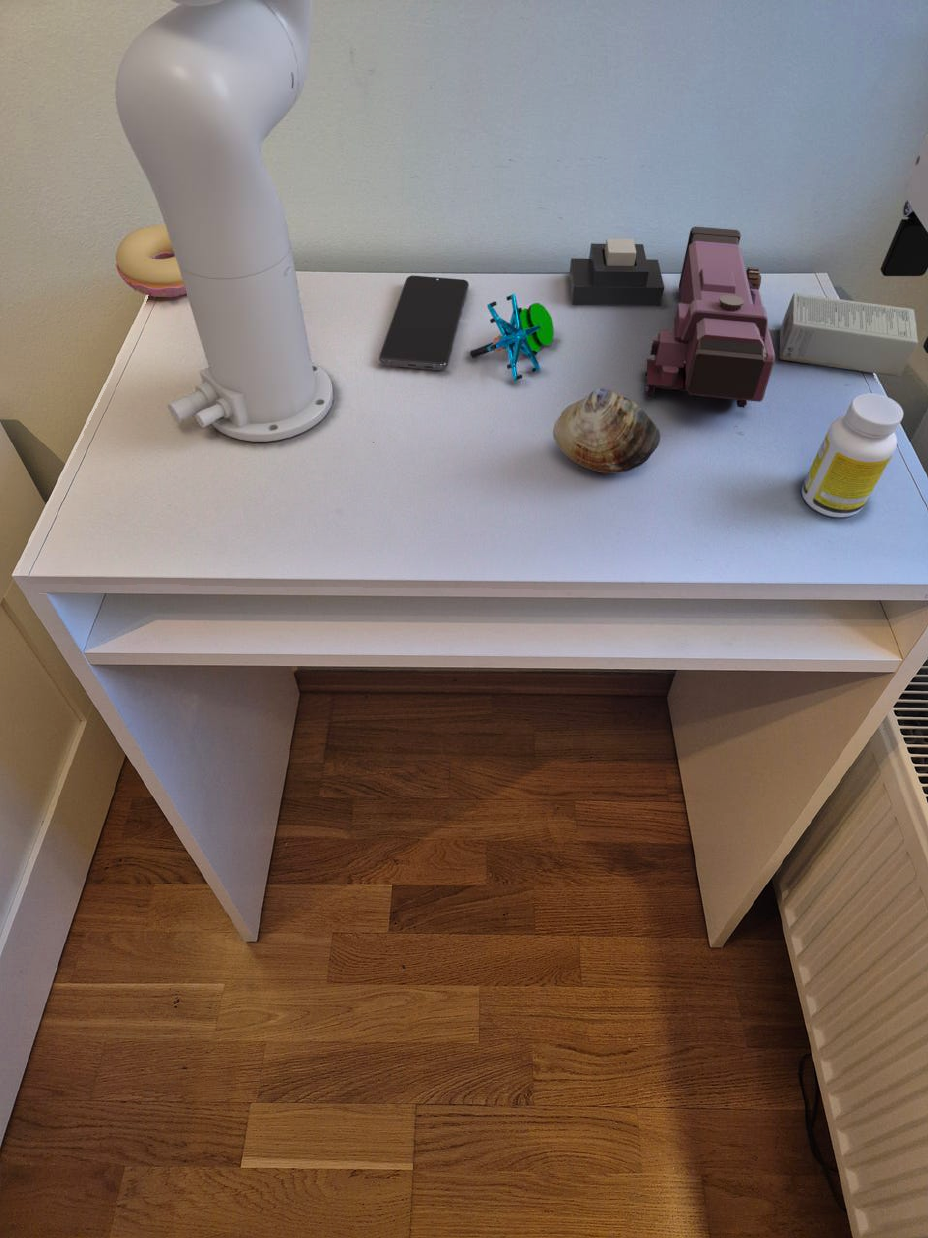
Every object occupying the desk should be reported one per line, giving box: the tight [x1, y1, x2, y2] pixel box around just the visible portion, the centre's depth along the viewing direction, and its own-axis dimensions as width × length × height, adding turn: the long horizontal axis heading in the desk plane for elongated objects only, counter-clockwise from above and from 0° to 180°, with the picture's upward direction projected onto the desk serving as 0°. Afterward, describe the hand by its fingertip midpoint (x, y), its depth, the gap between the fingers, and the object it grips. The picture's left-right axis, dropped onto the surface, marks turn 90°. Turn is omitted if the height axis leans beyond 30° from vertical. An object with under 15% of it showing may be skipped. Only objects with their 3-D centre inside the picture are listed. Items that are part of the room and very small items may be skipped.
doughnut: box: [115, 224, 187, 299], centre depth 91 cm, size 11×11×4 cm
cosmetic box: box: [779, 292, 919, 378], centre depth 82 cm, size 6×4×12 cm
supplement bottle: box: [801, 392, 904, 518], centre depth 67 cm, size 5×5×10 cm
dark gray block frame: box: [568, 242, 665, 307], centre depth 89 cm, size 10×6×4 cm, turn 89°
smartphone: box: [378, 274, 470, 371], centre depth 86 cm, size 7×1×16 cm
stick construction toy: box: [469, 293, 554, 381], centre depth 82 cm, size 12×7×8 cm
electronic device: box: [644, 226, 776, 409], centre depth 79 cm, size 11×27×10 cm, turn 171°
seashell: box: [552, 388, 662, 474], centre depth 70 cm, size 10×6×8 cm, turn 70°
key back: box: [604, 237, 636, 266], centre depth 87 cm, size 3×3×2 cm
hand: (922, 310), depth 56 cm, fingers open, 9 cm apart
